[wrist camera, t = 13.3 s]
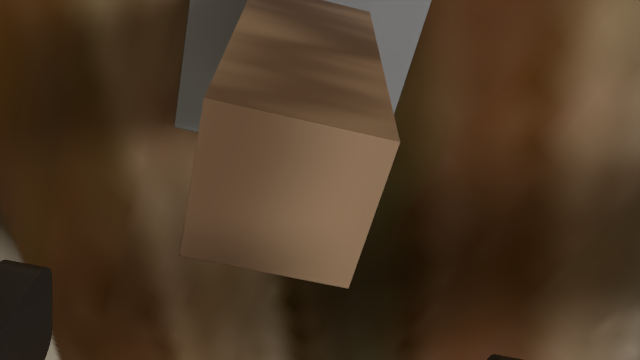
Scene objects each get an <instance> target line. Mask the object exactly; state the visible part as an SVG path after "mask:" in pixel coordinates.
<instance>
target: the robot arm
mask: <svg viewBox="0 0 640 360" xmlns="http://www.w3.org/2000/svg"><path fill="white" fill-rule="evenodd" d="M51 336H52V273H51V270H50V269H49V268H46V267H41V266H36V265H31V264H25V263H20V262H15V261H10V260H3V261H1V262H0V360H45V357H46V355H47V351H48V349H49V345H50V341H51ZM487 360H522V359H517V358H511V357H506V356H501V355H496V354H493V355H491V356H490V357H489V358H488V359H487Z"/></svg>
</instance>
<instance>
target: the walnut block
mask: <svg viewBox="0 0 640 360" xmlns="http://www.w3.org/2000/svg"><path fill="white" fill-rule="evenodd" d="M399 144H400V139H399V135H398V131H397V127H396V122H395V118H394V114H393V109H392V105H391V101H390V97H389V92H388V88H387V84H386V79H385V75H384V71H383V67H382V62H381V58H380V54H379V49H378V45H377V41H376V37H375V32H374V28H373V24H372V19H371V15H370V12H368V11H364V10H360V9H356V8H352V7H348V6H344V5H340V4H336V3H332V2H328V1H324V0H248V1H247V3H246V5H245V7H244V9H243V12H242V14H241V16H240V18H239V21H238V23H237V25H236V27H235V29H234V32H233V34H232V36H231V38H230V41H229V43H228V45H227V47H226V49H225V52H224V54H223V56H222V58H221V61H220V63H219V65H218V67H217V70H216V72H215V74H214V76H213V78H212V81H211V83H210V85H209V87H208V90H207V92H206V94H205V96H204V100H203V106H202V113H201V119H200V125H199V132H198V138H197V145H196V151H195V158H194V164H193V171H192V177H191V184H190V190H189V197H188V203H187V209H186V216H185V222H184V229H183V235H182V242H181V248H180V255H179V256H183V257H188V258H193V259H199V260H204V261H209V262H214V263H219V264H224V265H229V266H235V267H240V268H245V269H250V270H255V271H260V272H266V273H271V274H276V275H281V276H286V277H291V278H296V279H302V280H307V281H312V282H317V283H322V284H327V285H333V286H338V287H343V288H349V286H350V283H351V280H352V277H353V274H354V271H355V269H356V266H357V263H358V260H359V257H360V254H361V252H362V249H363V246H364V243H365V240H366V237H367V235H368V232H369V229H370V226H371V223H372V220H373V218H374V215H375V212H376V209H377V206H378V203H379V201H380V198H381V195H382V192H383V189H384V186H385V184H386V181H387V178H388V175H389V172H390V169H391V167H392V164H393V161H394V158H395V155H396V152H397V150H398V147H399Z"/></svg>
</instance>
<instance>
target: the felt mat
mask: <svg viewBox="0 0 640 360" xmlns="http://www.w3.org/2000/svg"><path fill="white" fill-rule="evenodd" d="M247 1H248V0H190V5H189V13H188V21H187V29H186V37H185V45H184V54H183V62H182V70H181V78H180V86H179V94H178V102H177V111H176V119H175V127H176V128H181V129H185V130H190V131H195V132H199V125H200V119H201V113H202V106H203V100H204V96H205V94H206V92H207V90H208V87H209V85H210V83H211V81H212V78H213V76H214V74H215V72H216V70H217V67H218V65H219V63H220V61H221V58H222V56H223V54H224V52H225V49H226V47H227V45H228V43H229V41H230V38H231V36H232V34H233V32H234V29H235V27H236V25H237V23H238V21H239V18H240V16H241V14H242V12H243V9H244V7H245V5H246V3H247ZM324 1H328V2H332V3H336V4H340V5H344V6H348V7H352V8H356V9H360V10H364V11H368V12H370V15H371V19H372V24H373V28H374V32H375V37H376V41H377V45H378V49H379V54H380V58H381V62H382V67H383V71H384V75H385V79H386V84H387V88H388V92H389V97H390V101H391V105H392V109H393V114H394V112H395V109H396V106H397V103H398V100H399V97H400V94H401V91H402V88H403V85H404V82H405V79H406V76H407V73H408V70H409V67H410V64H411V61H412V58H413V55H414V52H415V49H416V46H417V43H418V39H419V36H420V33H421V30H422V27H423V24H424V21H425V18H426V15H427V12H428V9H429V6H430V3H431V0H324Z"/></svg>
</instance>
